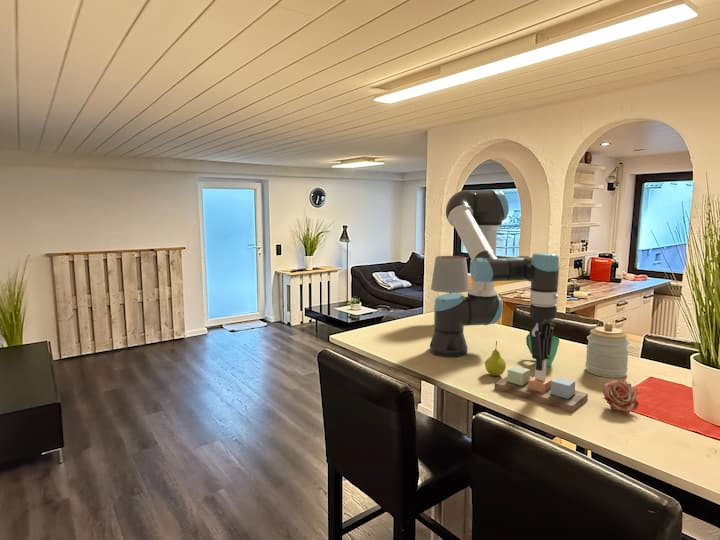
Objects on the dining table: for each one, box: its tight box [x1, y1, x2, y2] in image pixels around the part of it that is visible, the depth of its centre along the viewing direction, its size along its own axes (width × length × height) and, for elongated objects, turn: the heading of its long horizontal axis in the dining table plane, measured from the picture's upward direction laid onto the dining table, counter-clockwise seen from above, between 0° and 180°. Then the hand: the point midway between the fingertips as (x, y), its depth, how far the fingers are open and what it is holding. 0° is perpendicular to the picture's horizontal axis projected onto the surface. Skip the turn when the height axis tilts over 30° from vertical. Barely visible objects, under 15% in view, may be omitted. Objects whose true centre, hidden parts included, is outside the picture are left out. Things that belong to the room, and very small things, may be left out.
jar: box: [585, 322, 630, 379], centre depth 155 cm, size 13×13×18 cm
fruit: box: [484, 340, 507, 377], centre depth 153 cm, size 7×7×12 cm
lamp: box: [430, 255, 471, 294], centre depth 222 cm, size 19×19×34 cm
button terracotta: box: [528, 376, 553, 393], centre depth 138 cm, size 5×5×4 cm
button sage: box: [506, 365, 531, 387], centre depth 142 cm, size 5×5×4 cm
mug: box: [525, 333, 560, 367], centre depth 167 cm, size 15×10×10 cm
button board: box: [494, 376, 589, 413], centre depth 138 cm, size 24×12×2 cm, turn 44°
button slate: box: [551, 376, 576, 400], centre depth 132 cm, size 5×5×4 cm
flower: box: [602, 378, 640, 414], centre depth 127 cm, size 10×9×8 cm
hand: (540, 379), depth 137 cm, fingers closed
